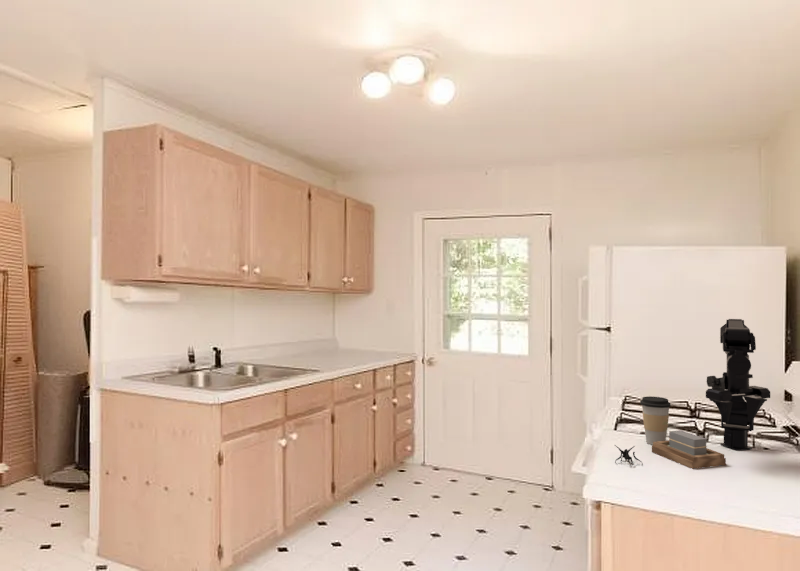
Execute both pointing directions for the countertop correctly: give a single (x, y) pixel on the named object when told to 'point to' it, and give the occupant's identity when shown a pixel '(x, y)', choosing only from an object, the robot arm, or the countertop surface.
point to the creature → (626, 455)
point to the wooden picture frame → (688, 456)
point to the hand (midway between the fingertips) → (738, 422)
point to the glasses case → (687, 442)
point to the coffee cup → (655, 418)
